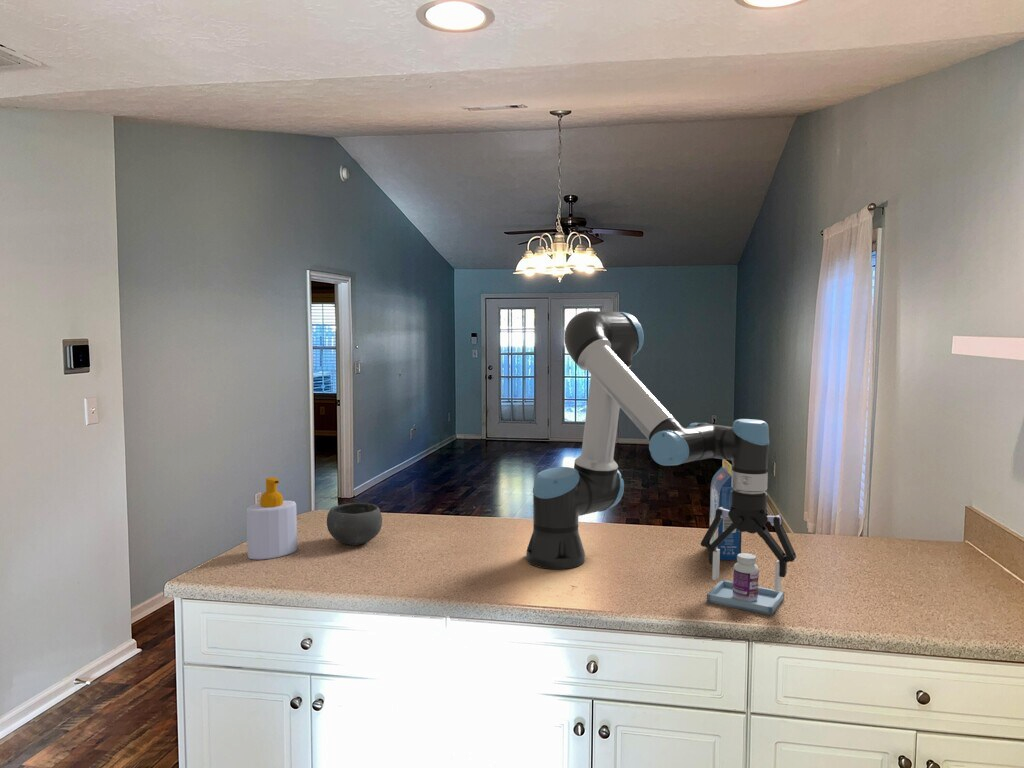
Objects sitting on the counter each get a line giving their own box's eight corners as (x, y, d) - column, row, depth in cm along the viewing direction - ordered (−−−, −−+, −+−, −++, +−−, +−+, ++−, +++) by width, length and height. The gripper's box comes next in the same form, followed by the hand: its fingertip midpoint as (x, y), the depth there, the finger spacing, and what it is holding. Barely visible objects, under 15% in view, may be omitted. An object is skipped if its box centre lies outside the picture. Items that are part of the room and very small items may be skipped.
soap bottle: (254, 563, 187) (252, 484, 185) (242, 555, 193) (240, 479, 191) (303, 552, 195) (301, 477, 194) (289, 545, 202) (288, 472, 200)
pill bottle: (754, 604, 159) (755, 561, 158) (729, 599, 162) (731, 556, 161) (760, 596, 164) (761, 554, 163) (736, 591, 167) (737, 550, 166)
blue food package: (731, 546, 202) (734, 457, 200) (741, 560, 190) (744, 465, 188) (708, 546, 203) (710, 456, 201) (716, 560, 191) (719, 465, 189)
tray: (706, 601, 162) (706, 594, 162) (721, 586, 171) (721, 579, 171) (771, 615, 155) (772, 607, 154) (783, 599, 164) (784, 591, 164)
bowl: (356, 532, 215) (355, 498, 214) (392, 541, 206) (392, 506, 205) (315, 544, 203) (315, 509, 202) (352, 554, 194) (352, 517, 193)
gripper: (688, 486, 164) (685, 578, 166) (805, 501, 151) (801, 601, 153) (699, 480, 171) (696, 569, 172) (812, 494, 157) (808, 590, 159)
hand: (746, 584), depth 163 cm, fingers open, 13 cm apart
